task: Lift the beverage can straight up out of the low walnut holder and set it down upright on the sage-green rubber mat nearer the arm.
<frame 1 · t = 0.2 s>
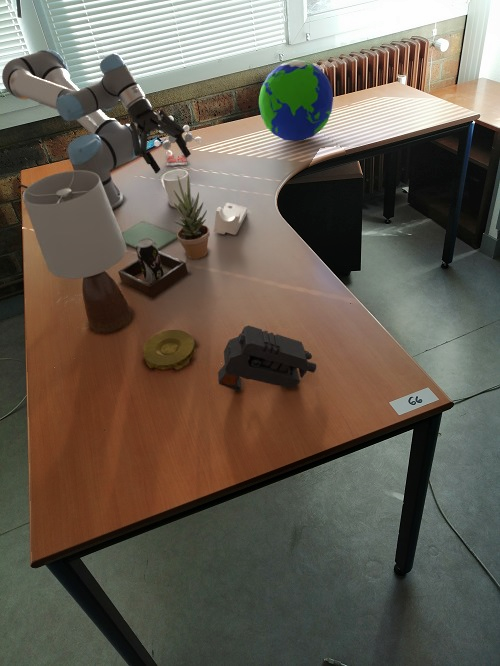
hand: (173, 163, 165), 16 cm above the table, tool tilted 35°, fingers open, 13 cm apart
bracket: (233, 224, 163), on the table
yellow flat disc: (170, 354, 119), on the table
molecule model: (179, 160, 208), on the table
mat: (146, 238, 162), on the table
potted plant: (196, 254, 151), on the table
holder: (155, 278, 143), on the table
mug: (178, 202, 179), on the table
tool: (268, 382, 109), on the table
lamp: (111, 320, 131), on the table
globe: (297, 139, 212), on the table
beverage can: (155, 279, 144), resting in holder
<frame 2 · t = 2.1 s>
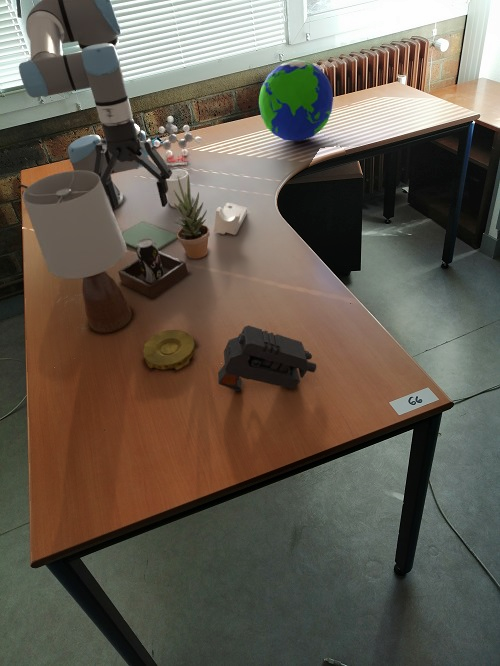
hand: (140, 205, 130), 22 cm above the table, tool pointing down, fingers open, 13 cm apart
nothing on the table moved.
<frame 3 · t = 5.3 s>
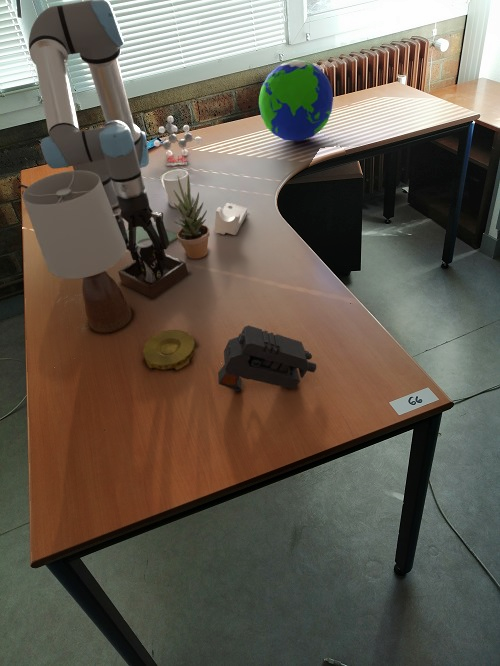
hand: (152, 269, 141), 3 cm above the table, tool pointing down, fingers closed on beverage can, 6 cm apart
beverage can: (155, 279, 144), resting in holder, touching gripper
everything else where it was.
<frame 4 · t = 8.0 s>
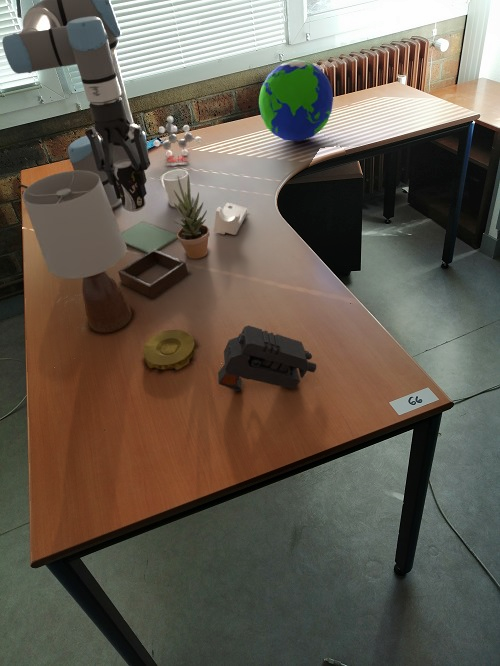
hand: (131, 195, 127), 25 cm above the table, tool pointing down, fingers closed on beverage can, 6 cm apart
beverage can: (135, 208, 129), point 22 cm above the table, touching gripper
everything else where it was.
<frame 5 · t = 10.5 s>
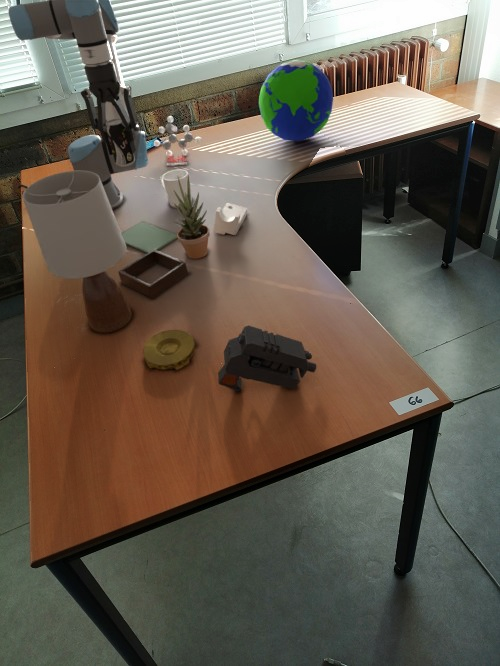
hand: (122, 152, 142), 28 cm above the table, tool pointing down, fingers closed on beverage can, 6 cm apart
beverage can: (126, 164, 145), point 25 cm above the table, touching gripper
everything else where it was.
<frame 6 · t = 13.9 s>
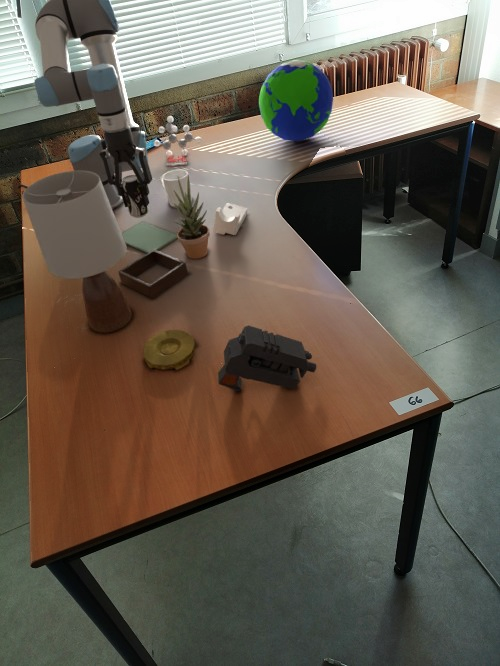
hand: (137, 204, 154), 12 cm above the table, tool pointing down, fingers closed on beverage can, 6 cm apart
beverage can: (140, 215, 156), point 8 cm above the table, touching gripper
everything else where it was.
when the fingers open (4 cm above the table, at t = 16.0 s): beverage can stays where it is, resting on mat.
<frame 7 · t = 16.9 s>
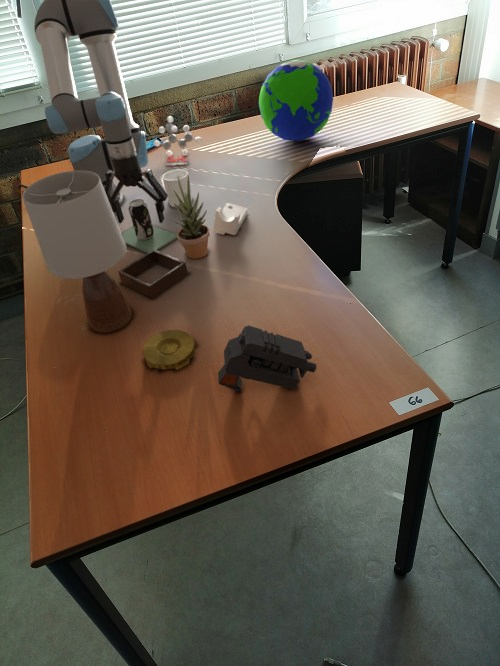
hand: (141, 221, 158), 6 cm above the table, tool pointing down, fingers open, 13 cm apart
beverage can: (146, 237, 161), resting on mat
everything else where it was.
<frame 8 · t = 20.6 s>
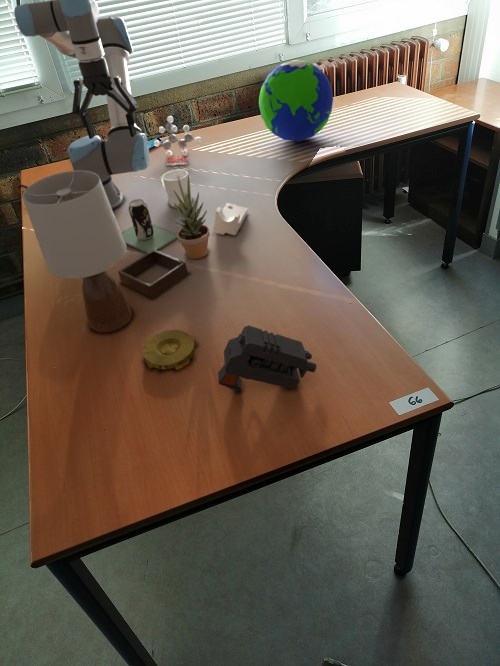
hand: (113, 136, 152), 29 cm above the table, tool pointing down, fingers open, 13 cm apart
nothing on the table moved.
at the end: beverage can inside the target area on the mat (0.1 cm from its centre), point 0.4 cm above the mat's base; beverage can tilted 0°; the gripper is holding nothing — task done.
